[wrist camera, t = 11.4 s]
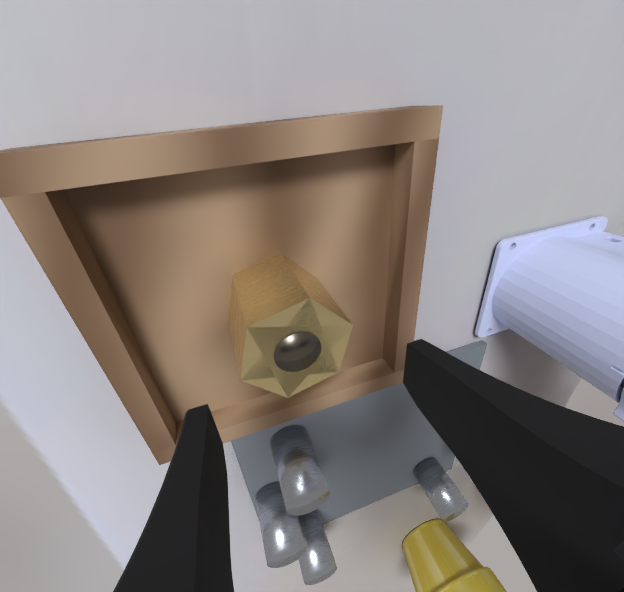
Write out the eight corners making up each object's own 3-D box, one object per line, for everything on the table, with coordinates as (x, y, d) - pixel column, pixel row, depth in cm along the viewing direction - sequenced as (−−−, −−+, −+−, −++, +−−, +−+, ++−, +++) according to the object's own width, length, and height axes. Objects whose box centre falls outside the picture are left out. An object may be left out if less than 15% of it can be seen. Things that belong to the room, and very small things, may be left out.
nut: (321, 255, 16) (361, 299, 13) (303, 336, 18) (333, 393, 15) (234, 249, 15) (250, 297, 11) (226, 339, 17) (237, 404, 13)
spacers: (479, 359, 26) (527, 401, 22) (451, 461, 34) (483, 504, 30) (236, 443, 21) (247, 513, 18) (269, 538, 29) (281, 600, 25)
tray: (413, 106, 15) (442, 105, 13) (392, 360, 23) (408, 380, 21) (8, 148, 11) (-25, 156, 9) (161, 433, 19) (159, 465, 18)
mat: (482, 340, 26) (486, 344, 25) (448, 464, 35) (451, 468, 35) (226, 424, 21) (227, 430, 20) (267, 541, 30) (268, 547, 30)
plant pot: (399, 524, 39) (453, 631, 31) (464, 501, 43) (527, 591, 35) (381, 563, 44) (424, 663, 36) (441, 539, 48) (492, 626, 40)
